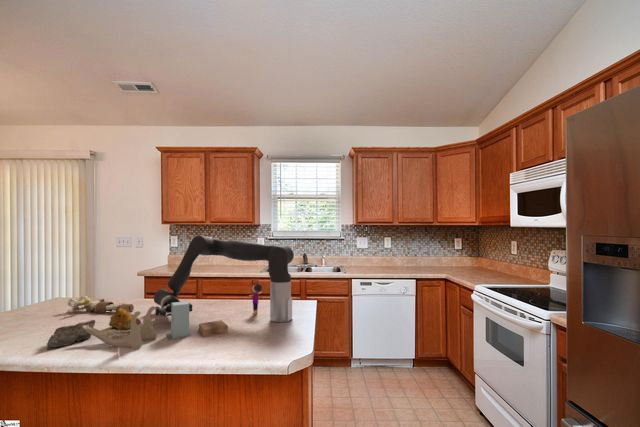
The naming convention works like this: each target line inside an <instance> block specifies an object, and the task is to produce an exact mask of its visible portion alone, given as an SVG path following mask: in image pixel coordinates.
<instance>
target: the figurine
mask: <svg viewBox="0 0 640 427" xmlns="http://www.w3.org/2000/svg"><path fill="white" fill-rule="evenodd" d="M83 299H84V300H83ZM90 301H91V298H90V296H87V295H82V296H80V298H78V300H77V299H75V298H71V299H68V301H67V306H69V307H72V308H68V309H67V312H69V313H72V312H76V311H80V310H81V311H84V310H85V311H86V312H87V313H88V312H90V313H92V312H95V313H100V314H107V313H106V311H111V312H116V310H118V309H120V308H124V309H125V310H127V311H128V312H129V313H132V312H133V311H134V310H135V306H134V305H133V304H132V303H131V304H130V303H124V302H120V303H118V304H114V302H113V301H108V298H102V299H98V300H95V301H93V302H90Z"/></svg>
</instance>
